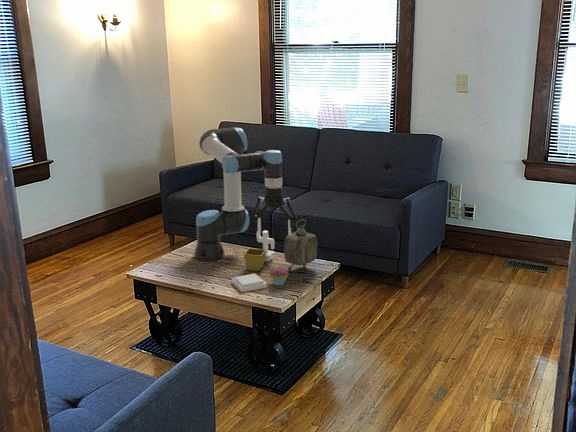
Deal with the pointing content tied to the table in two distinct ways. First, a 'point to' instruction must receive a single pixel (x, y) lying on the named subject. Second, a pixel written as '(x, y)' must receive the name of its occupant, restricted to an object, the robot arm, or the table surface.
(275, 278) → the cupcake
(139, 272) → the table surface
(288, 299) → the table surface
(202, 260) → the robot arm
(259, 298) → the table surface
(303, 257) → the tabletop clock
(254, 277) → the pedestal
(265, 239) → the figurine
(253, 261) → the flower pot
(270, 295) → the table surface
